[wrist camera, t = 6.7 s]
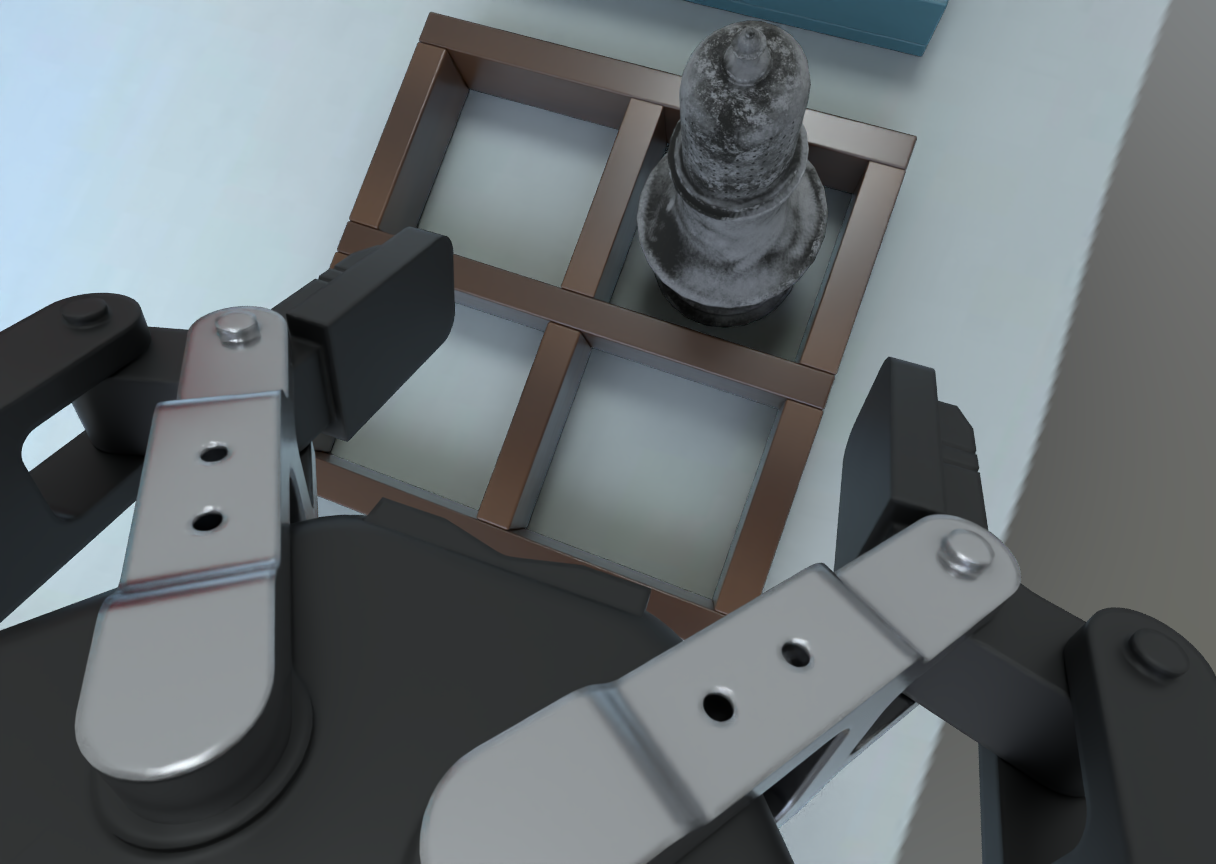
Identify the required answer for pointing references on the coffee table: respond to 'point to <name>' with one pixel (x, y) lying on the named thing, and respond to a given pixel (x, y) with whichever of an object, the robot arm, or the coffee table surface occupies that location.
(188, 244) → the coffee table surface
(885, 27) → the tray
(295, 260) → the coffee table surface
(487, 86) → the spice rack
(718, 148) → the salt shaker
